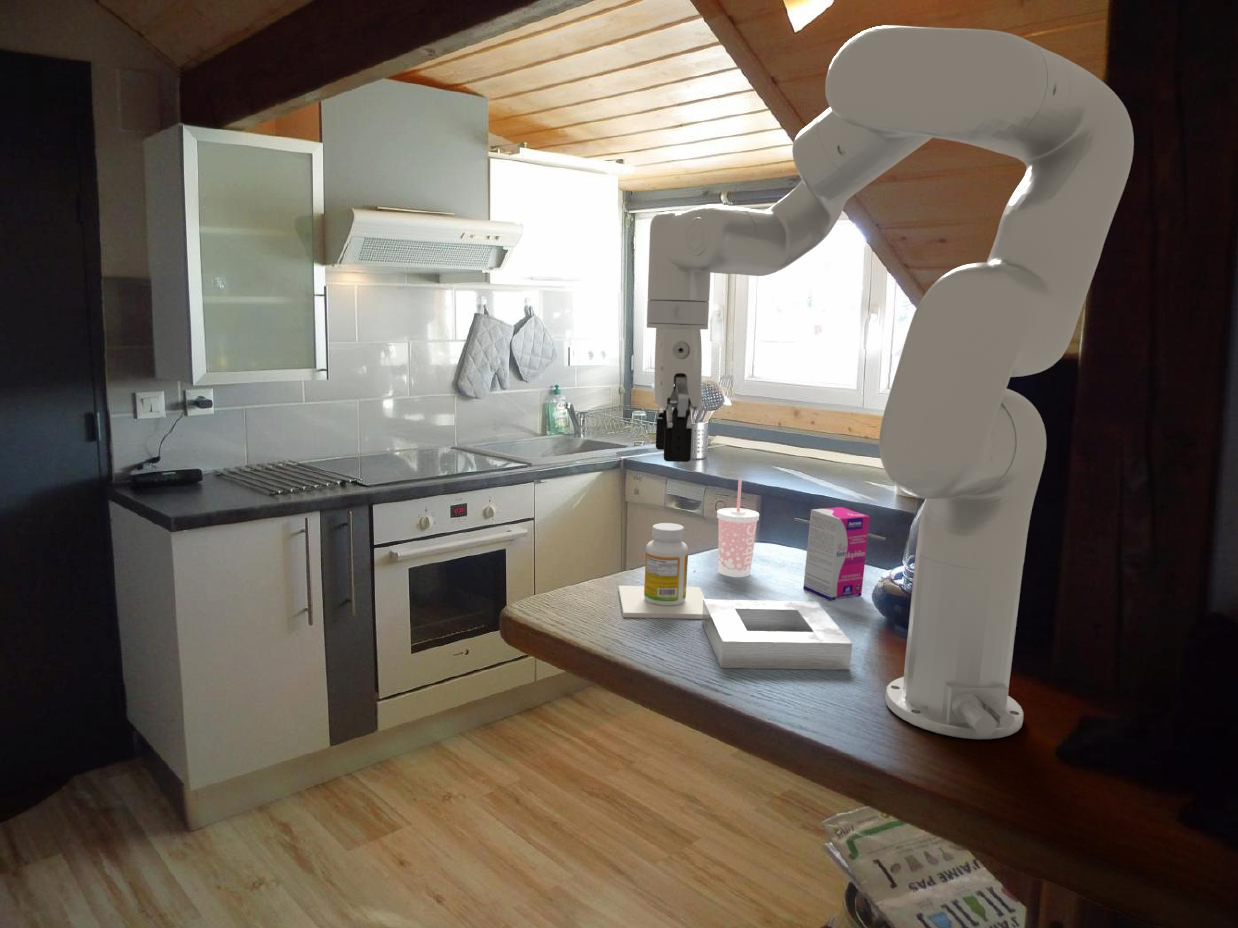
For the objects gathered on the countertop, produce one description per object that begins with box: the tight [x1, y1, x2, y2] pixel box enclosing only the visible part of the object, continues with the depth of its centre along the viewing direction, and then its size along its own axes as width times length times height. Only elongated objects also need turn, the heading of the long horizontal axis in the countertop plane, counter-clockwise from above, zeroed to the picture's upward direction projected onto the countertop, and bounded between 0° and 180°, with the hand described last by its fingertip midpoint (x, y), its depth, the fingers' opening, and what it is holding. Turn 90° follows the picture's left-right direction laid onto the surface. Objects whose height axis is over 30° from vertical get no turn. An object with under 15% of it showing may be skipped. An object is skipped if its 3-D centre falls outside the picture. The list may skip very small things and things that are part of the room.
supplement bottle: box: [643, 522, 689, 606], centre depth 117 cm, size 5×5×10 cm
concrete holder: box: [701, 598, 853, 671], centre depth 104 cm, size 14×14×3 cm
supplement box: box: [802, 506, 870, 601], centre depth 124 cm, size 6×6×12 cm
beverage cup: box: [716, 477, 760, 578], centre depth 132 cm, size 6×6×14 cm
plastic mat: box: [618, 585, 706, 620], centre depth 118 cm, size 11×11×1 cm
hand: (672, 455), depth 114 cm, fingers open, 9 cm apart
